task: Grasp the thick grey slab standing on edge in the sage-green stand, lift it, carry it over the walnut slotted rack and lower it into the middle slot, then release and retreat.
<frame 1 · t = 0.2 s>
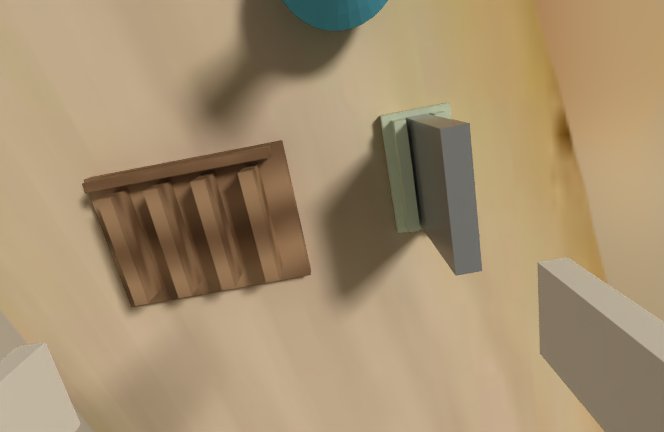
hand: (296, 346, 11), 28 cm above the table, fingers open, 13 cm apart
rack: (205, 225, 39), on the table
thick grey slab: (422, 171, 37), point 1 cm above the table, touching stand
stand: (420, 169, 38), on the table
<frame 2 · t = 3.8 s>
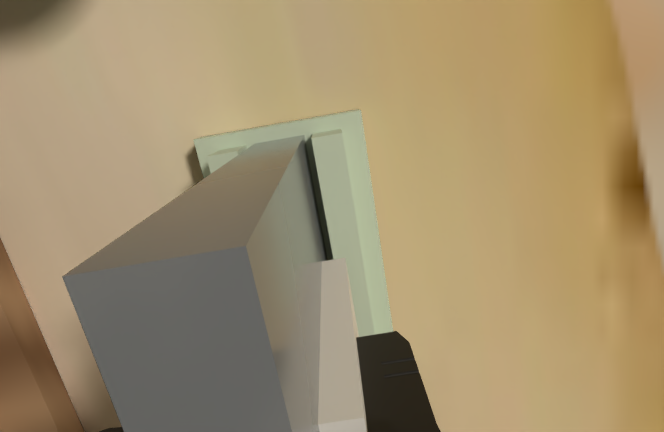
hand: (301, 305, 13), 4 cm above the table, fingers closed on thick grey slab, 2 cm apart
thick grey slab: (305, 267, 16), point 1 cm above the table, touching gripper, stand
stand: (306, 257, 17), on the table
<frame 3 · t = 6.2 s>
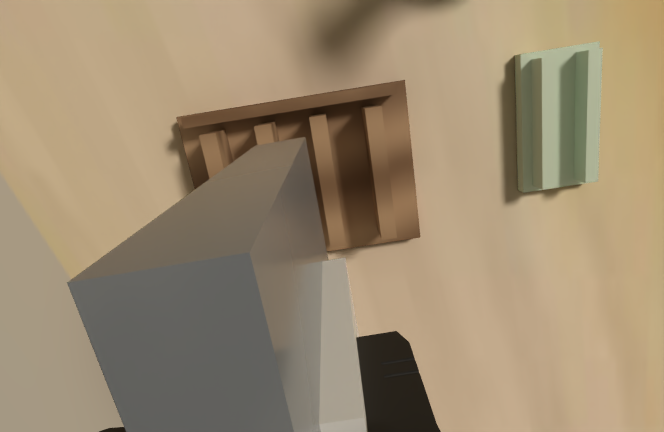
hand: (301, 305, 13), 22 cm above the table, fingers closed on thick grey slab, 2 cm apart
rack: (304, 177, 34), on the table
thick grey slab: (306, 268, 16), point 19 cm above the table, touching gripper
stand: (552, 120, 33), on the table
when the fingers open (6 cm above the table, at t = 8.7 s): thick grey slab drops 2 cm, resting on rack.
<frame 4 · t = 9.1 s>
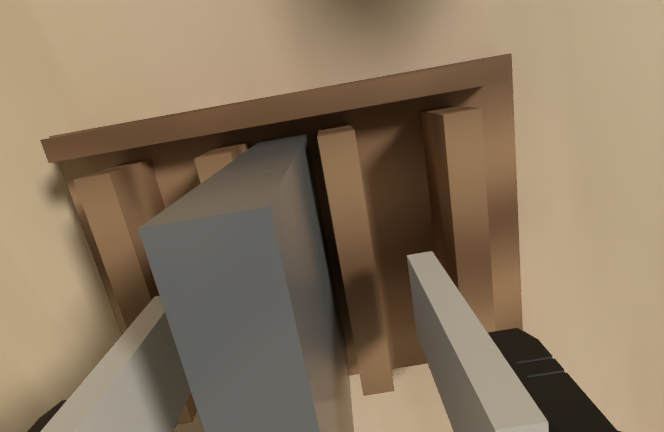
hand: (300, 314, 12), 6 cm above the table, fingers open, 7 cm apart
rack: (308, 242, 19), on the table
thick grey slab: (307, 252, 17), point 1 cm above the table, touching rack
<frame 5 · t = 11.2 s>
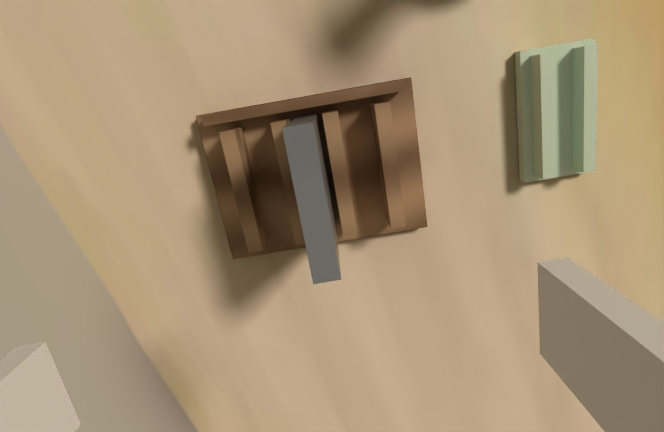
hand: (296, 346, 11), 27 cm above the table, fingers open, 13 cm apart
rack: (316, 171, 36), on the table
thick grey slab: (316, 174, 35), point 1 cm above the table, touching rack
stand: (551, 113, 35), on the table
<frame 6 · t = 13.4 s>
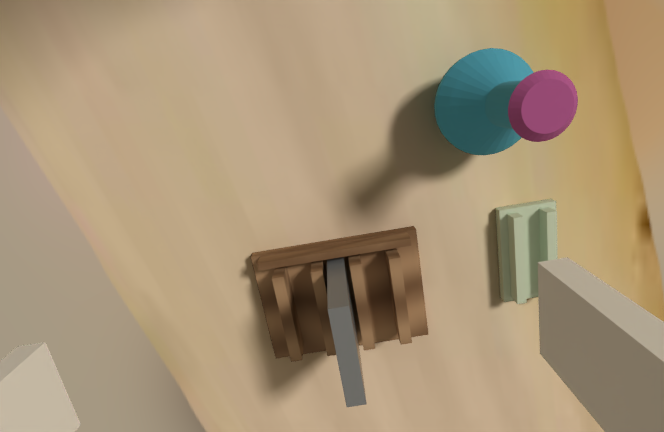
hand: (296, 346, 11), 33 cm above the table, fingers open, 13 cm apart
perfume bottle: (468, 102, 41), on the table
rack: (342, 292, 47), on the table
thick grey slab: (342, 297, 45), point 1 cm above the table, touching rack
stand: (524, 250, 45), on the table
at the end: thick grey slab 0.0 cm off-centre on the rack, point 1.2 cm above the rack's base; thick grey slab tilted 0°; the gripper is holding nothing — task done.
